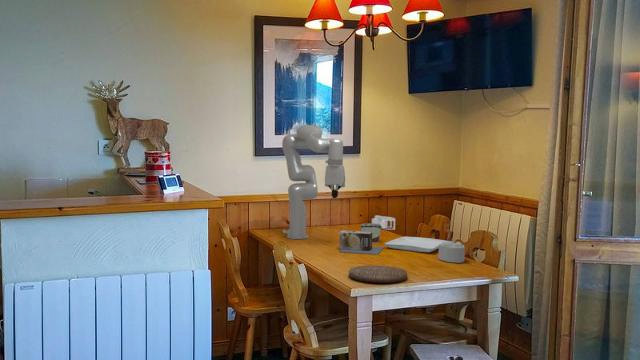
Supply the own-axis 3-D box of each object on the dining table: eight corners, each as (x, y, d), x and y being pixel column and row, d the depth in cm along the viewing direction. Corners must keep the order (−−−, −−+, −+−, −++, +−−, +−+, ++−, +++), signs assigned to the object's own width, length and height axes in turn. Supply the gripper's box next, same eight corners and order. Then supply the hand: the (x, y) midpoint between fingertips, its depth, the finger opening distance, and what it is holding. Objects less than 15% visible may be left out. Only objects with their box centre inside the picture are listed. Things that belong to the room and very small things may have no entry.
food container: (381, 241, 351) (382, 223, 351) (381, 243, 345) (382, 225, 345) (360, 240, 353) (360, 223, 352) (359, 242, 347) (360, 224, 346)
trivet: (406, 284, 251) (406, 279, 251) (345, 280, 256) (345, 276, 256) (408, 271, 276) (408, 267, 276) (352, 268, 280) (352, 264, 280)
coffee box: (339, 231, 322) (369, 233, 317) (342, 230, 328) (372, 231, 323) (339, 249, 322) (369, 251, 317) (342, 247, 328) (372, 249, 323)
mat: (339, 252, 316) (339, 251, 316) (347, 245, 335) (347, 244, 335) (377, 254, 311) (378, 253, 311) (383, 247, 330) (383, 247, 330)
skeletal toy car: (369, 226, 408) (369, 215, 407) (384, 226, 411) (384, 215, 411) (381, 231, 389) (382, 219, 388) (397, 230, 392) (398, 219, 392)
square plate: (403, 242, 351) (404, 235, 351) (450, 247, 337) (450, 240, 337) (383, 249, 328) (383, 242, 328) (432, 255, 314) (432, 247, 314)
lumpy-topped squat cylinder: (452, 256, 309) (452, 239, 309) (469, 261, 298) (470, 243, 297) (435, 258, 304) (436, 240, 304) (452, 263, 293) (453, 245, 292)
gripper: (319, 162, 322) (319, 198, 323) (348, 163, 318) (347, 199, 319) (323, 162, 329) (322, 196, 330) (350, 163, 325) (350, 197, 327)
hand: (334, 197), depth 325 cm, fingers closed
